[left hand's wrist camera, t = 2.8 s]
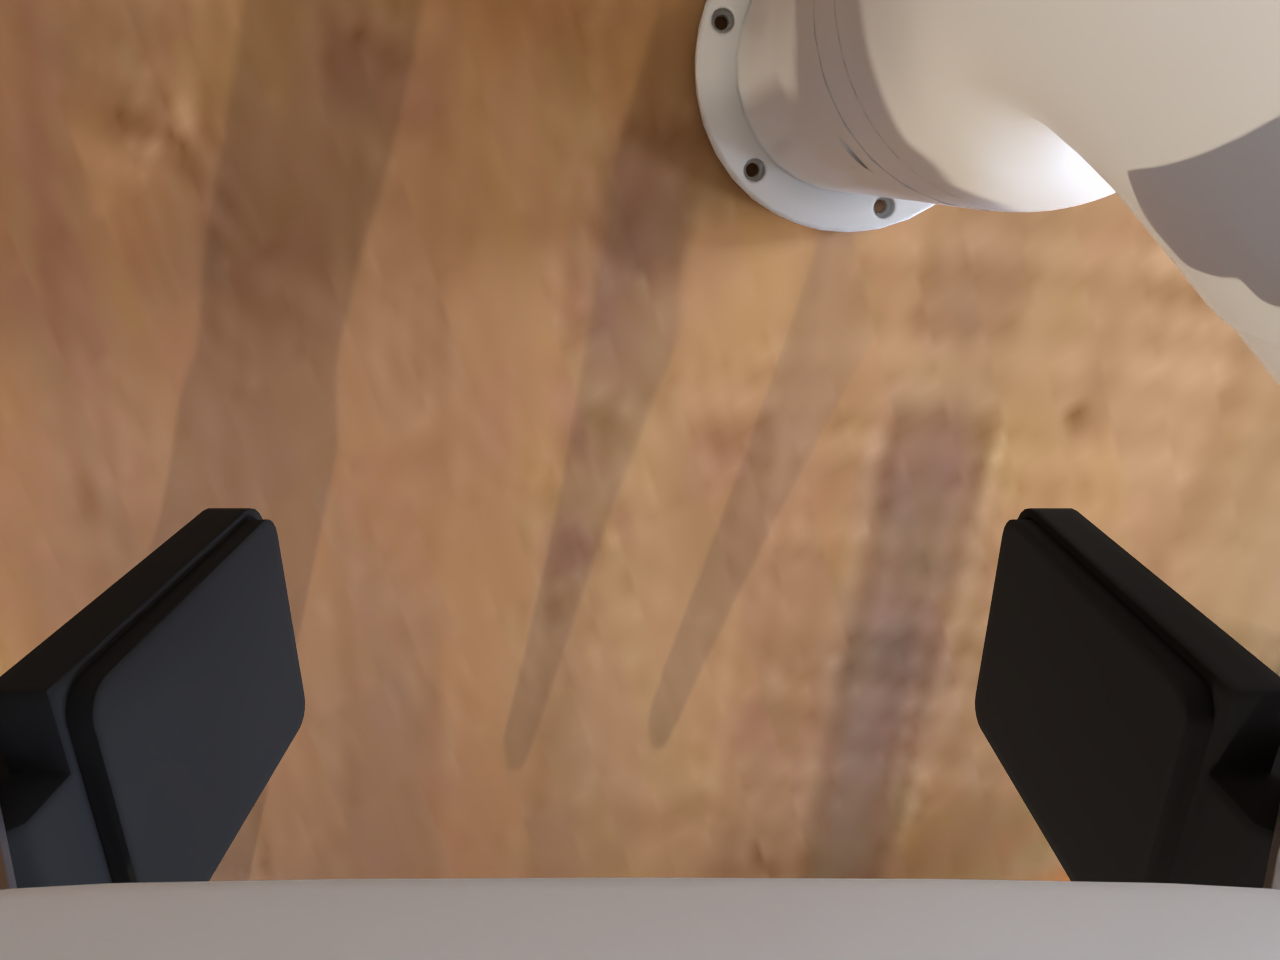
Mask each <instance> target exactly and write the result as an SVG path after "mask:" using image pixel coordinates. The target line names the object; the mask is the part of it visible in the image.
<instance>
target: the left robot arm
mask: <svg viewBox="0 0 1280 960" xmlns="http://www.w3.org/2000/svg"><path fill="white" fill-rule="evenodd" d="M719 16H723V17H724V18H726V20H727V27H726V29H724V30H719V29H717V28H716V26H715V19H716V18H717V17H719ZM694 61H695V82H696V96H697V100H698V105H699V109H700V113H701V118H702V122H703V126H704V128H705V131H706V133H707V135H708V138H709V140H710V142H711V145H712V147H713V149H714V152H715V154H716V156H717V157H718V159H719V160H720V162H721V163H722V164H723V166H724V167H725V169H726V170H727V172H728V173H729V175H730V176H731V178H732V179H733V180H734V181H735V182H736V183H737V184H738V185H739V186H740V187H741V188H742V189H743V190H744V191H745V192H746V193H747V194H748V195H749V196H750V197H751V198H752V199H753V200H754V201H756V202H757V203H759V204H760V205H762V206H763V207H765V208H766V209H768V210H770V211H771V212H773V213H774V214H776V215H777V216H780V217H782V218H785V219H787V220H789V221H791V222H793V223H796V224H799V225H802V226H806V227H811V228H815V229H818V230H824V231H838V232H857V231H865V230H873V229H880V228H883V227H886V226H889V225H892V224H895V223H898V222H901V221H904V220H907V219H910V218H911V217H913V216H915V215H917V214H919V213H921V212H922V211H924V210H926V209H928V208H930V207H932V206H933V205H935V204H939V205H947V206H955V207H963V208H971V209H978V210H986V211H990V210H992V211H1001V212H1038V211H1050V210H1057V209H1062V208H1068V207H1073V206H1077V205H1081V204H1085V203H1088V202H1091V201H1095V200H1098V199H1100V198H1103V197H1106V196H1108V195H1111V194H1113V193H1117V194H1118V196H1119V197H1120V198H1121V199H1122V200H1123V202H1124V203H1125V204H1126V205H1127V206H1128V208H1129V209H1130V210H1131V211H1132V212H1133V214H1134V215H1135V216H1136V217H1137V218H1138V220H1139V221H1140V222H1141V223H1142V224H1143V226H1144V227H1145V228H1146V229H1147V231H1148V232H1149V233H1150V234H1151V235H1152V237H1153V238H1154V239H1155V240H1156V242H1157V243H1158V244H1159V245H1160V247H1161V248H1162V249H1163V250H1164V252H1165V253H1166V254H1167V255H1168V256H1169V258H1170V259H1171V260H1172V261H1173V263H1174V264H1175V265H1176V266H1177V268H1178V269H1179V270H1180V271H1181V273H1182V274H1183V275H1184V276H1185V278H1186V279H1187V280H1188V281H1189V283H1190V284H1191V285H1192V286H1193V288H1194V289H1195V290H1196V291H1197V293H1198V294H1199V295H1200V296H1201V298H1202V299H1203V300H1204V301H1205V303H1206V304H1207V305H1208V306H1209V307H1210V308H1211V310H1212V311H1213V312H1214V313H1215V314H1216V315H1217V316H1218V317H1219V318H1220V319H1221V320H1223V321H1224V322H1225V323H1227V324H1228V325H1230V326H1231V327H1232V328H1234V330H1235V331H1236V332H1237V333H1238V335H1239V336H1240V337H1241V338H1242V340H1243V341H1244V342H1245V343H1246V345H1247V346H1248V347H1249V348H1250V350H1251V351H1252V352H1253V353H1254V355H1255V356H1256V357H1257V358H1258V360H1259V361H1260V362H1261V363H1262V365H1263V366H1264V367H1265V368H1266V370H1267V371H1268V372H1269V373H1270V375H1271V376H1272V377H1273V378H1274V380H1275V381H1276V382H1277V383H1278V385H1279V386H1280V0H707V1H706V4H705V7H704V10H703V13H702V17H701V20H700V24H699V28H698V36H697V44H696V52H695V60H694ZM750 163H754V164H756V166H757V168H758V172H757V174H756V175H755V176H753V177H750V176H748V175H747V173H746V168H747V166H748V165H749V164H750ZM878 200H882V201H883V203H884V208H883V209H882V211H881V212H879V213H877V212H875V210H874V204H875V202H876V201H878ZM304 710H305V698H304V691H303V685H302V679H301V673H300V667H299V661H298V655H297V649H296V643H295V637H294V631H293V625H292V619H291V613H290V607H289V601H288V595H287V589H286V583H285V577H284V571H283V565H282V559H281V553H280V547H279V541H278V535H277V531H276V527H275V525H274V523H273V522H272V521H271V520H263V519H262V517H261V515H260V514H259V512H258V511H256V510H255V509H250V508H208V509H206V510H204V511H202V512H201V513H200V514H199V515H198V516H196V517H195V518H194V519H193V520H191V521H190V522H189V523H188V524H187V525H185V526H184V527H183V528H182V529H180V530H179V531H178V532H177V533H176V534H174V535H173V536H172V537H171V538H169V539H168V540H167V541H166V542H165V543H163V544H162V545H161V546H160V547H158V548H157V549H156V550H155V551H154V552H152V553H151V554H150V555H149V556H147V557H146V558H145V559H144V560H143V561H141V562H140V563H139V564H138V565H136V566H135V567H134V568H133V569H132V570H130V571H129V572H128V573H127V574H125V575H124V576H123V577H122V578H121V579H119V580H118V581H117V582H116V583H114V584H113V585H112V586H111V587H110V588H108V589H107V590H106V591H105V592H103V593H102V594H101V595H100V596H99V597H97V598H96V599H95V600H94V601H92V602H91V603H90V604H89V605H88V606H86V607H85V608H84V609H83V610H81V611H80V612H79V613H78V614H77V615H75V616H74V617H73V618H72V619H70V620H69V621H68V622H67V623H66V624H64V625H63V626H62V627H61V628H59V629H58V630H57V631H56V632H55V633H53V634H52V635H51V636H50V637H48V638H47V639H46V640H45V641H44V642H42V643H41V644H40V645H39V646H37V647H36V648H35V649H34V650H33V651H31V652H30V653H29V654H28V655H26V656H25V657H24V658H23V659H22V660H20V661H19V662H18V663H17V664H15V665H14V666H13V667H12V668H11V669H9V670H8V671H7V672H6V673H4V674H3V675H2V676H1V677H0V960H1280V677H1279V676H1278V675H1277V674H1276V673H1274V672H1273V671H1272V670H1271V669H1269V668H1268V667H1267V666H1266V665H1265V664H1263V663H1262V662H1261V661H1260V660H1258V659H1257V658H1256V657H1255V656H1254V655H1252V654H1251V653H1250V652H1249V651H1247V650H1246V649H1245V648H1244V647H1243V646H1241V645H1240V644H1239V643H1238V642H1236V641H1235V640H1234V639H1233V638H1232V637H1230V636H1229V635H1228V634H1227V633H1225V632H1224V631H1223V630H1222V629H1221V628H1219V627H1218V626H1217V625H1216V624H1214V623H1213V622H1212V621H1211V620H1210V619H1208V618H1207V617H1206V616H1205V615H1203V614H1202V613H1201V612H1200V611H1199V610H1197V609H1196V608H1195V607H1194V606H1192V605H1191V604H1190V603H1189V602H1188V601H1186V600H1185V599H1184V598H1183V597H1181V596H1180V595H1179V594H1178V593H1177V592H1175V591H1174V590H1173V589H1172V588H1170V587H1169V586H1168V585H1167V584H1166V583H1164V582H1163V581H1162V580H1161V579H1159V578H1158V577H1157V576H1156V575H1155V574H1153V573H1152V572H1151V571H1150V570H1148V569H1147V568H1146V567H1145V566H1144V565H1142V564H1141V563H1140V562H1139V561H1137V560H1136V559H1135V558H1134V557H1133V556H1131V555H1130V554H1129V553H1128V552H1126V551H1125V550H1124V549H1123V548H1122V547H1120V546H1119V545H1118V544H1117V543H1115V542H1114V541H1113V540H1112V539H1111V538H1109V537H1108V536H1107V535H1106V534H1104V533H1103V532H1102V531H1101V530H1100V529H1098V528H1097V527H1096V526H1095V525H1093V524H1092V523H1091V522H1090V521H1089V520H1087V519H1086V518H1085V517H1084V516H1082V515H1081V514H1080V513H1079V512H1078V511H1076V510H1074V509H1072V508H1030V509H1025V510H1024V511H1022V512H1021V514H1020V515H1019V517H1018V519H1017V520H1009V521H1008V522H1007V523H1006V525H1005V527H1004V531H1003V535H1002V541H1001V547H1000V553H999V559H998V565H997V571H996V577H995V583H994V589H993V595H992V601H991V607H990V613H989V619H988V625H987V631H986V637H985V643H984V649H983V655H982V661H981V667H980V673H979V679H978V685H977V691H976V698H975V710H976V717H977V720H978V724H979V726H980V728H981V730H982V732H983V733H984V735H985V737H986V738H987V740H988V742H989V743H990V745H991V747H992V748H993V750H994V752H995V754H996V755H997V757H998V759H999V760H1000V762H1001V764H1002V765H1003V767H1004V769H1005V770H1006V772H1007V774H1008V775H1009V777H1010V779H1011V781H1012V782H1013V784H1014V786H1015V787H1016V789H1017V791H1018V792H1019V794H1020V796H1021V797H1022V799H1023V801H1024V802H1025V804H1026V806H1027V807H1028V809H1029V811H1030V813H1031V814H1032V816H1033V818H1034V819H1035V821H1036V823H1037V824H1038V826H1039V828H1040V829H1041V831H1042V833H1043V834H1044V836H1045V838H1046V840H1047V841H1048V843H1049V845H1050V846H1051V848H1052V850H1053V851H1054V853H1055V855H1056V856H1057V858H1058V860H1059V861H1060V863H1061V865H1062V867H1063V868H1064V870H1065V872H1066V873H1067V875H1068V877H1069V878H1070V880H1071V881H1024V880H970V879H839V878H441V879H310V880H256V881H209V880H210V878H211V877H212V875H213V873H214V872H215V870H216V868H217V867H218V865H219V863H220V861H221V860H222V858H223V856H224V855H225V853H226V851H227V850H228V848H229V846H230V845H231V843H232V841H233V840H234V838H235V836H236V834H237V833H238V831H239V829H240V828H241V826H242V824H243V823H244V821H245V819H246V818H247V816H248V814H249V813H250V811H251V809H252V808H253V806H254V804H255V802H256V801H257V799H258V797H259V796H260V794H261V792H262V791H263V789H264V787H265V786H266V784H267V782H268V781H269V779H270V777H271V775H272V774H273V772H274V770H275V769H276V767H277V765H278V764H279V762H280V760H281V759H282V757H283V755H284V754H285V752H286V750H287V748H288V747H289V745H290V743H291V742H292V740H293V738H294V737H295V735H296V733H297V732H298V730H299V728H300V726H301V724H302V720H303V717H304Z"/></svg>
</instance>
